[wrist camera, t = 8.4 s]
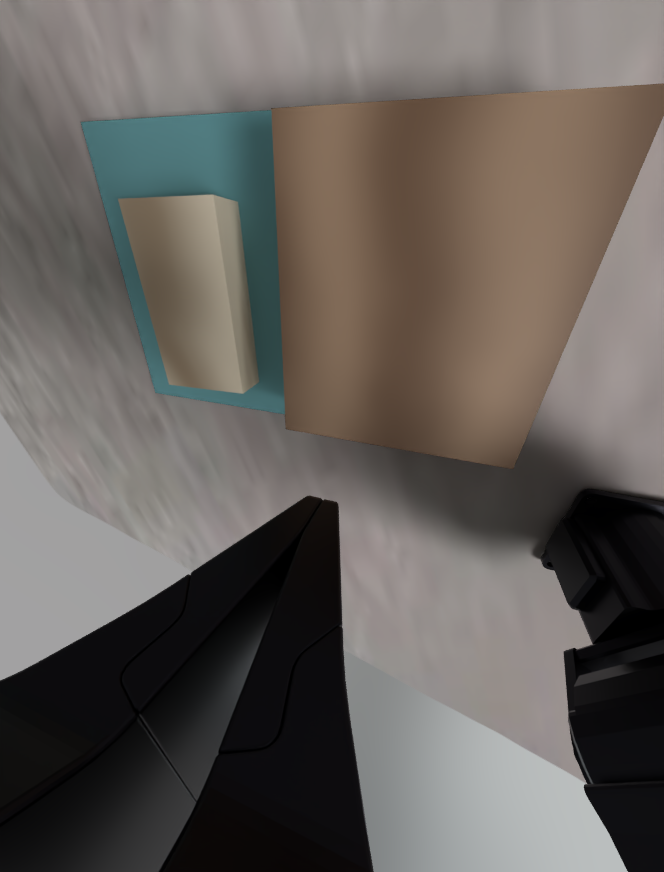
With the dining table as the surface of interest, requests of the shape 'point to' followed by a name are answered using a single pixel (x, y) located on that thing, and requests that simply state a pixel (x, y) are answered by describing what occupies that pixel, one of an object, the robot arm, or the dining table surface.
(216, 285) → the birch tile
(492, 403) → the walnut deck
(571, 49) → the dining table surface
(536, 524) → the dining table surface
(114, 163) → the teal mat
